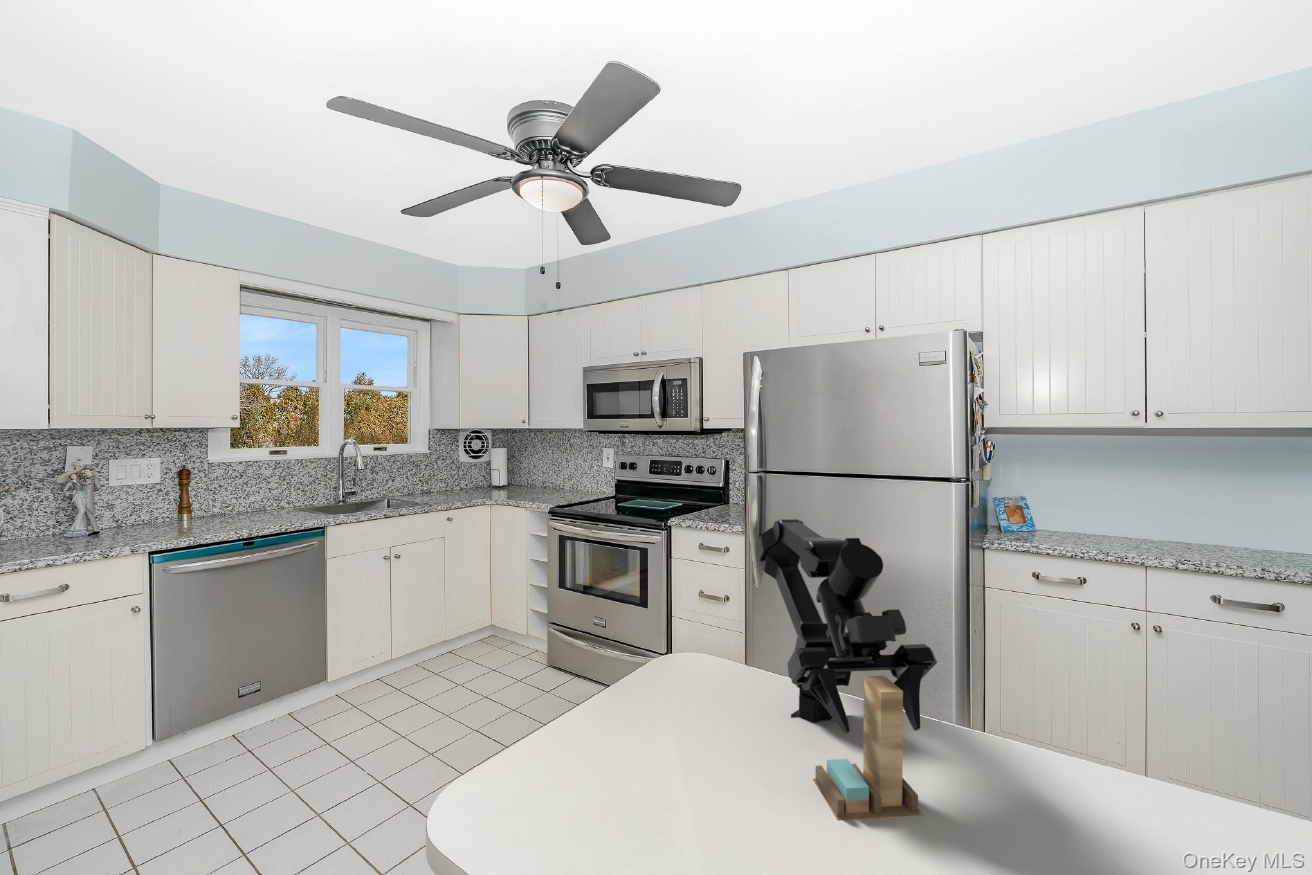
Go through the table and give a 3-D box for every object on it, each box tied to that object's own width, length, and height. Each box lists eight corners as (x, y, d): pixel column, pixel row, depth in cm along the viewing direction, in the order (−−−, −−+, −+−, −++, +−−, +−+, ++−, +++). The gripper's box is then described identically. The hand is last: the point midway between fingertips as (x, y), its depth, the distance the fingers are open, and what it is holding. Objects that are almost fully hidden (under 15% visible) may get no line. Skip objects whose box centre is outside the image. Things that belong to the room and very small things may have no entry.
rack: (812, 786, 75) (812, 763, 75) (889, 781, 76) (889, 759, 76) (837, 828, 67) (837, 802, 67) (923, 822, 68) (923, 797, 68)
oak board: (863, 784, 74) (863, 676, 74) (884, 783, 74) (884, 675, 74) (880, 806, 69) (880, 692, 69) (902, 805, 70) (902, 691, 69)
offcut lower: (826, 782, 74) (826, 771, 74) (847, 781, 74) (847, 769, 74) (846, 813, 68) (846, 800, 68) (868, 811, 68) (868, 799, 68)
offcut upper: (826, 771, 74) (826, 759, 74) (847, 769, 74) (847, 758, 74) (846, 800, 68) (846, 788, 68) (868, 799, 68) (869, 786, 68)
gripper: (796, 588, 76) (829, 710, 65) (929, 585, 78) (983, 703, 67) (778, 627, 84) (804, 742, 73) (899, 624, 86) (942, 736, 75)
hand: (882, 731), depth 72 cm, fingers open, 9 cm apart
